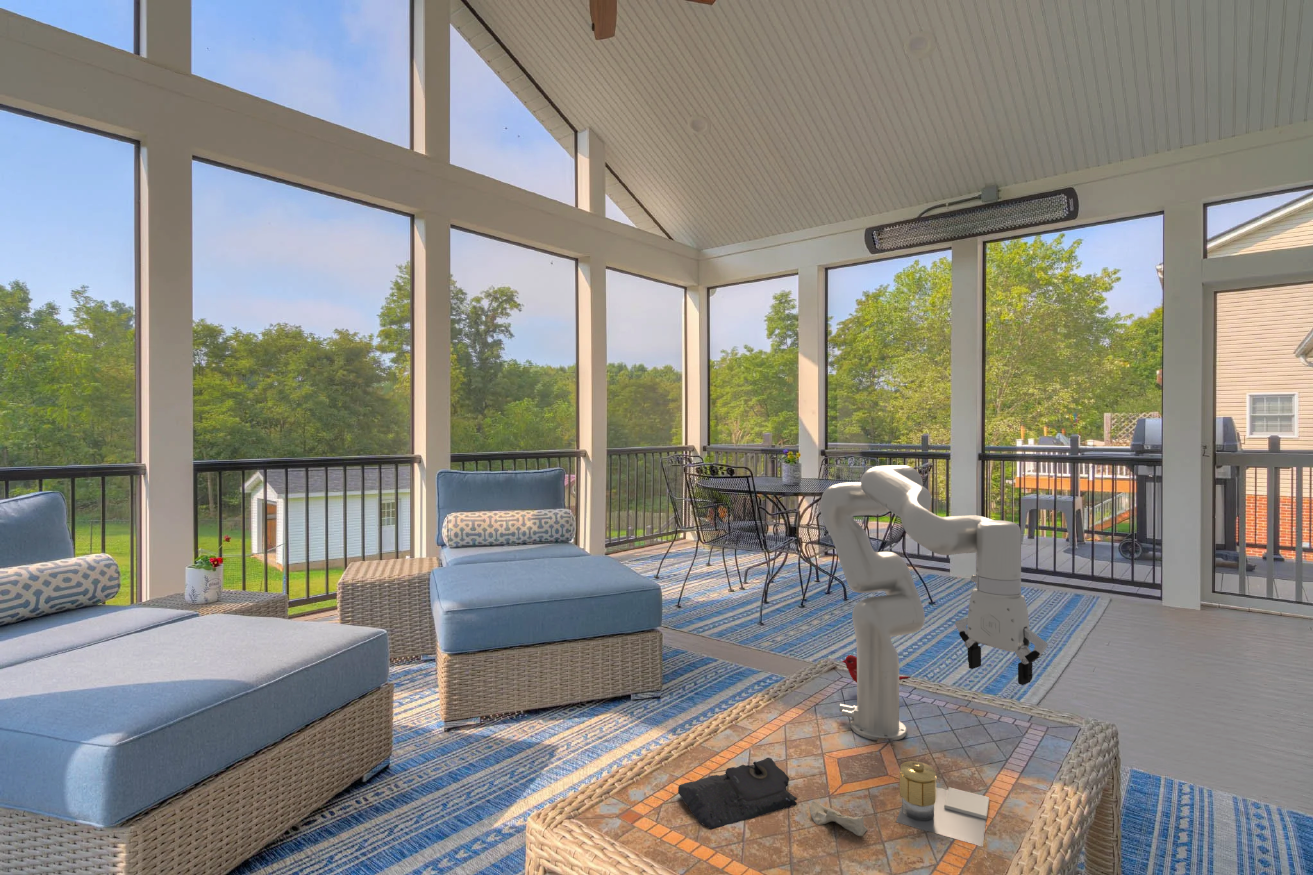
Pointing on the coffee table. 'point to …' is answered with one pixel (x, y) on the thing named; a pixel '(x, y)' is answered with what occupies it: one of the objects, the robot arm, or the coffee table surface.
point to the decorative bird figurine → (852, 667)
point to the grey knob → (918, 811)
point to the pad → (967, 803)
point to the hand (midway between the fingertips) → (998, 675)
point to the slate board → (949, 822)
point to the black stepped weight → (738, 794)
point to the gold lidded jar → (918, 783)
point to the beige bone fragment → (836, 818)
